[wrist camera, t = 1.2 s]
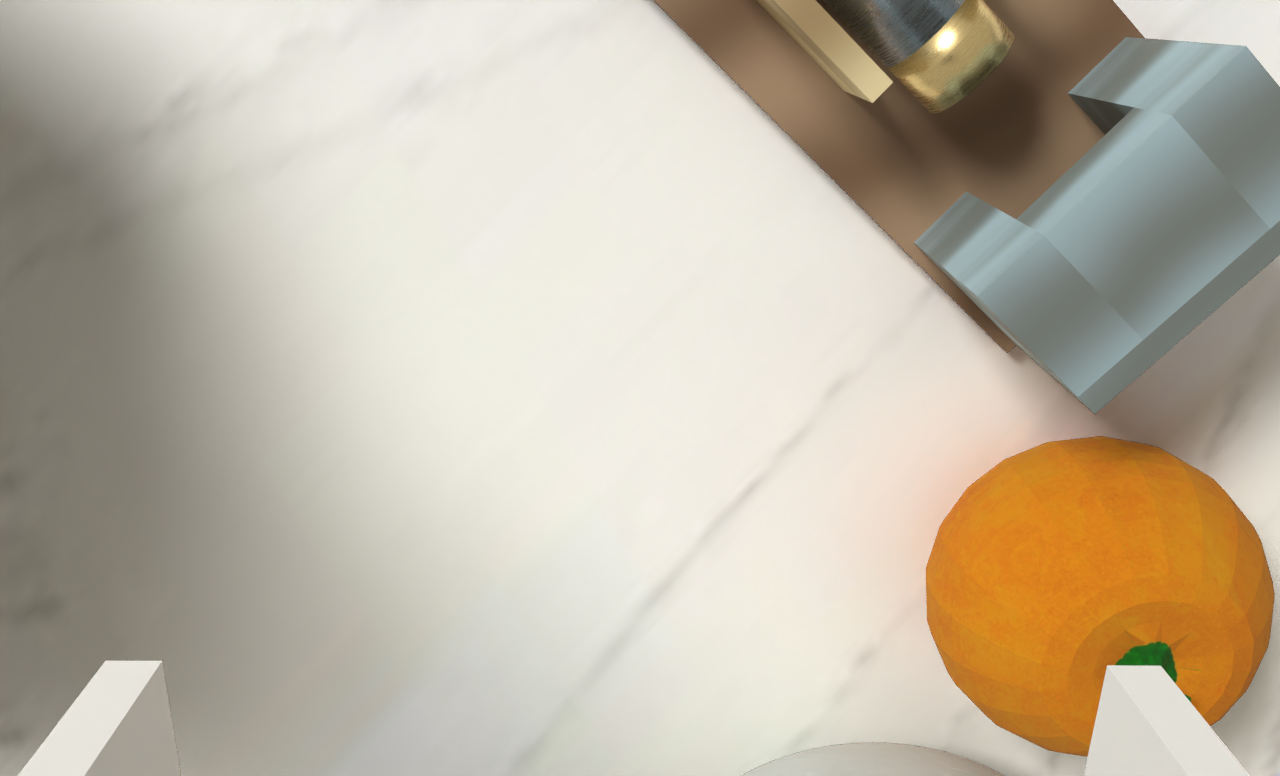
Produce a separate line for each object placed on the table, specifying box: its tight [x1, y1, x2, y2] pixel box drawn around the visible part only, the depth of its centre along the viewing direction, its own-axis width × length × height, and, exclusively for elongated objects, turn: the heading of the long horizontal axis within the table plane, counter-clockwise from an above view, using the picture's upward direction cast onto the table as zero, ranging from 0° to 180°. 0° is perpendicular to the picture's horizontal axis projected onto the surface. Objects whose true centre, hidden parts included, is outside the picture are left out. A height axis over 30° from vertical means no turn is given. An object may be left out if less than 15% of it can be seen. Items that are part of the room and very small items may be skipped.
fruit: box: [926, 436, 1274, 757], centre depth 37 cm, size 12×12×10 cm
